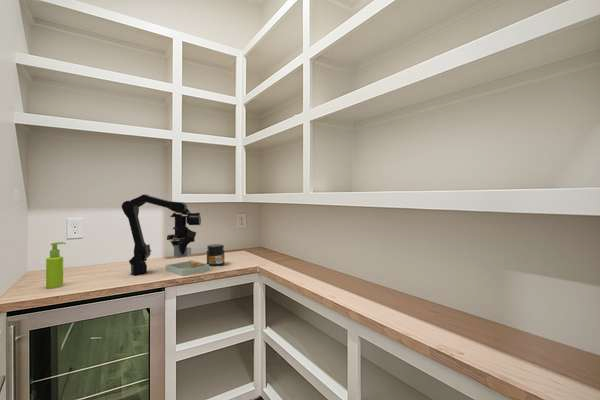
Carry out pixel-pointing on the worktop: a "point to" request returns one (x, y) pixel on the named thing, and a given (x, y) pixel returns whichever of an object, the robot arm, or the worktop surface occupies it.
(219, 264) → the supplement container
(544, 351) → the worktop surface
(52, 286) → the soap dispenser
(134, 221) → the robot arm
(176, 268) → the bay
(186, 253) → the connector
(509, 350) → the worktop surface
